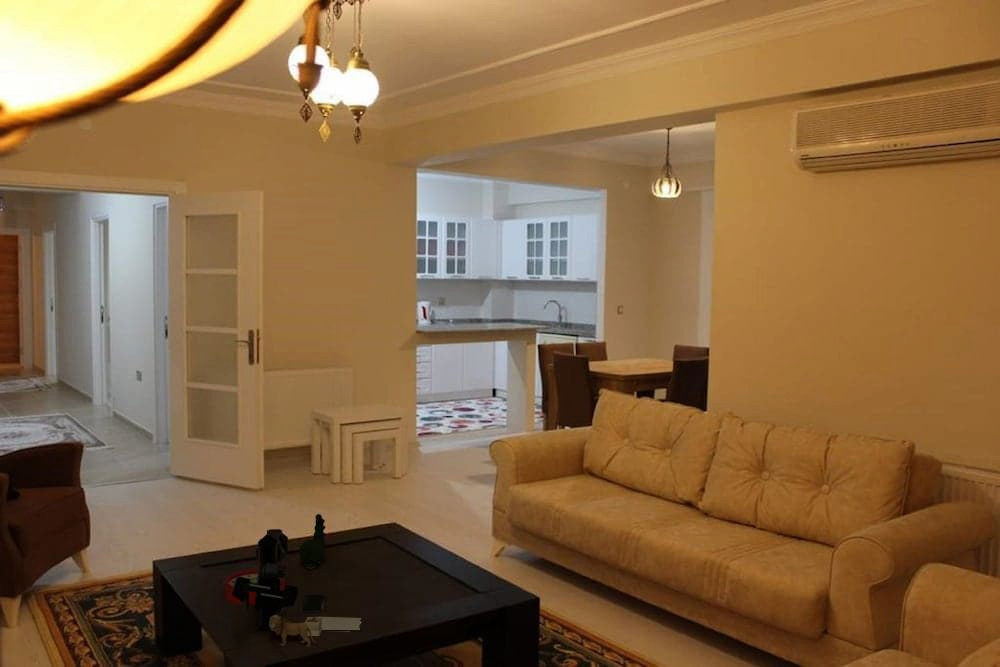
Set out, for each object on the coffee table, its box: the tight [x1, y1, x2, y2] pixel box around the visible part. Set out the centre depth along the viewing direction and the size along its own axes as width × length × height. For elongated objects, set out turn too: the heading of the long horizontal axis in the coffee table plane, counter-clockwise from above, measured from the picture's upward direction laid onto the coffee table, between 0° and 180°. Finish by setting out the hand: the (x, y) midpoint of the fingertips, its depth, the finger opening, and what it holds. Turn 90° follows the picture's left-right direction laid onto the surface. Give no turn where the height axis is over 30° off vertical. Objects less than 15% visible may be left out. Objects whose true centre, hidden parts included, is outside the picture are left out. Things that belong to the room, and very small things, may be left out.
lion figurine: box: [269, 614, 318, 648], centre depth 263 cm, size 15×5×9 cm, turn 93°
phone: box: [299, 594, 328, 613], centre depth 296 cm, size 8×1×15 cm
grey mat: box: [321, 616, 362, 630], centre depth 279 cm, size 10×16×1 cm, turn 90°
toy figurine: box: [298, 513, 327, 568], centre depth 338 cm, size 9×19×25 cm
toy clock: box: [225, 569, 286, 606], centre depth 304 cm, size 20×6×20 cm
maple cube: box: [304, 616, 323, 637], centre depth 271 cm, size 4×4×5 cm
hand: (262, 612), depth 251 cm, fingers open, 9 cm apart
